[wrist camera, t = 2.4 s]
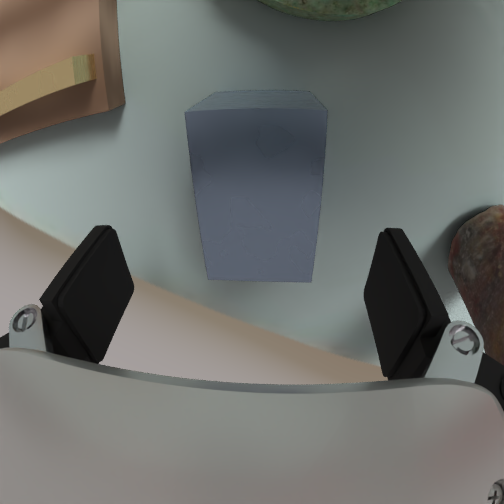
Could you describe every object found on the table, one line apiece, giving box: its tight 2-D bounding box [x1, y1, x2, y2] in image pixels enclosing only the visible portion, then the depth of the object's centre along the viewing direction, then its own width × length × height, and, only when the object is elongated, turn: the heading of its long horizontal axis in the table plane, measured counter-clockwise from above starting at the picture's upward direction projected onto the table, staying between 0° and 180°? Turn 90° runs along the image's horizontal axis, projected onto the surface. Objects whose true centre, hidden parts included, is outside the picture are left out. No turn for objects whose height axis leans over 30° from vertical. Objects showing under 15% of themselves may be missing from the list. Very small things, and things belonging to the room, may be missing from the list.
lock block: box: [185, 90, 328, 282], centre depth 14 cm, size 8×5×6 cm, turn 2°
